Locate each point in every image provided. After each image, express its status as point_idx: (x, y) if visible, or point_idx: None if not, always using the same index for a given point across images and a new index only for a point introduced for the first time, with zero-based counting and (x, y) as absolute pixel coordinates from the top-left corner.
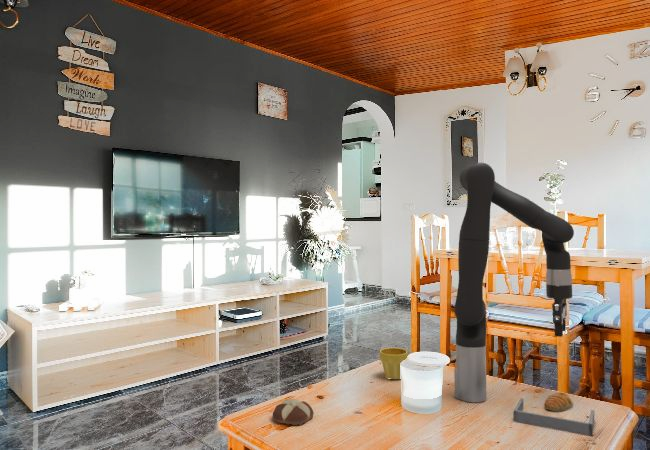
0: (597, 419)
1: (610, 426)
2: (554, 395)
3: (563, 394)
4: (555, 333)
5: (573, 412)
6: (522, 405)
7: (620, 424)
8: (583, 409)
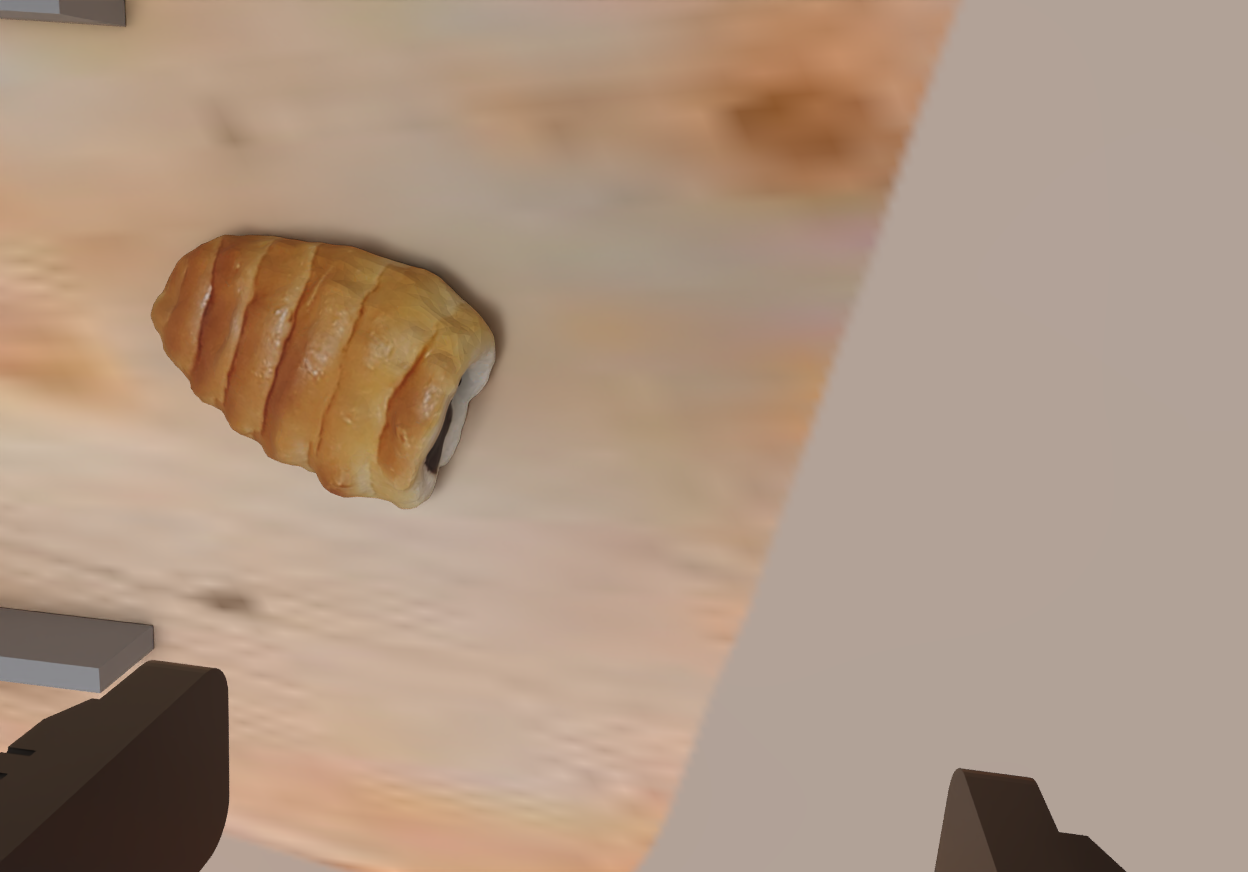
0: None
1: None
2: (309, 348)
3: (390, 440)
4: (117, 701)
5: (271, 494)
6: (38, 17)
7: None
8: (397, 581)
